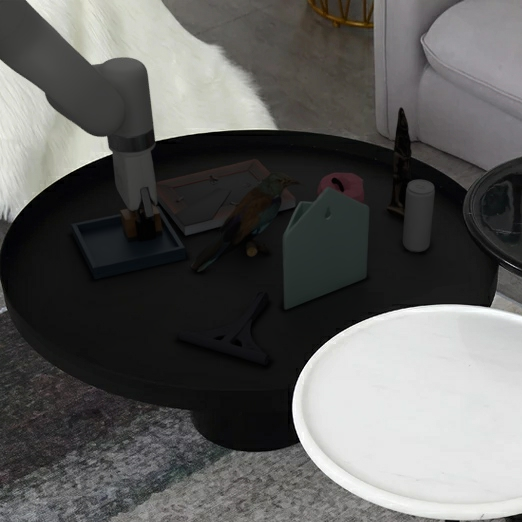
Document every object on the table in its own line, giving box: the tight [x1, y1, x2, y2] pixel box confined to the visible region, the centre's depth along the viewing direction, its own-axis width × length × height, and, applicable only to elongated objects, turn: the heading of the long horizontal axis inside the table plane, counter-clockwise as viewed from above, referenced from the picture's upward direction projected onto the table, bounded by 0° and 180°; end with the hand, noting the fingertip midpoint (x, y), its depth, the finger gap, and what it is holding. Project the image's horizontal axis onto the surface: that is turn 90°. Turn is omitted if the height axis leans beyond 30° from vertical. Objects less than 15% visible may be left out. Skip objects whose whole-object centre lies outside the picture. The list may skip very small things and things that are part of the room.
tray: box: [70, 205, 187, 280], centre depth 171 cm, size 16×15×2 cm
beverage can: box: [402, 179, 436, 253], centre depth 172 cm, size 5×5×12 cm
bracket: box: [178, 290, 270, 366], centre depth 155 cm, size 14×15×3 cm
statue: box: [386, 106, 413, 220], centre depth 177 cm, size 4×7×20 cm, turn 49°
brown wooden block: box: [119, 204, 163, 242], centre depth 172 cm, size 6×4×4 cm, turn 117°
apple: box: [316, 172, 366, 205], centre depth 177 cm, size 10×9×10 cm
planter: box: [282, 187, 370, 310], centre depth 160 cm, size 16×8×20 cm, turn 127°
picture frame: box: [156, 158, 297, 237], centre depth 183 cm, size 16×2×22 cm
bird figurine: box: [190, 171, 303, 273], centre depth 168 cm, size 13×10×20 cm
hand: (143, 232), depth 173 cm, fingers closed on brown wooden block, 3 cm apart
